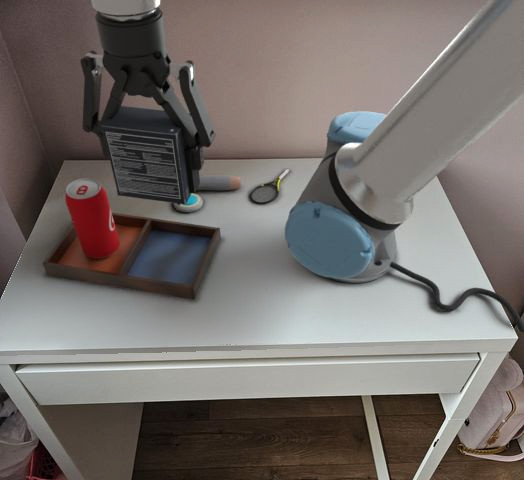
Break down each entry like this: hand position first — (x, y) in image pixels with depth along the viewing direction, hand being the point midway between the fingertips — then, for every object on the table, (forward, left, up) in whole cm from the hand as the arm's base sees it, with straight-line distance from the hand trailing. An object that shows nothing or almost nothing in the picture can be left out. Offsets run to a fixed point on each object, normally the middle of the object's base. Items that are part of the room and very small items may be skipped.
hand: (157, 182), depth 75 cm
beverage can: (+12, 0, -15) cm, 19 cm away
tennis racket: (-10, -26, -15) cm, 32 cm away
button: (+2, -16, -15) cm, 22 cm away
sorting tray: (+6, 0, -15) cm, 16 cm away
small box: (0, 0, -1) cm, 1 cm away
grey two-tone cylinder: (0, -23, -13) cm, 27 cm away
